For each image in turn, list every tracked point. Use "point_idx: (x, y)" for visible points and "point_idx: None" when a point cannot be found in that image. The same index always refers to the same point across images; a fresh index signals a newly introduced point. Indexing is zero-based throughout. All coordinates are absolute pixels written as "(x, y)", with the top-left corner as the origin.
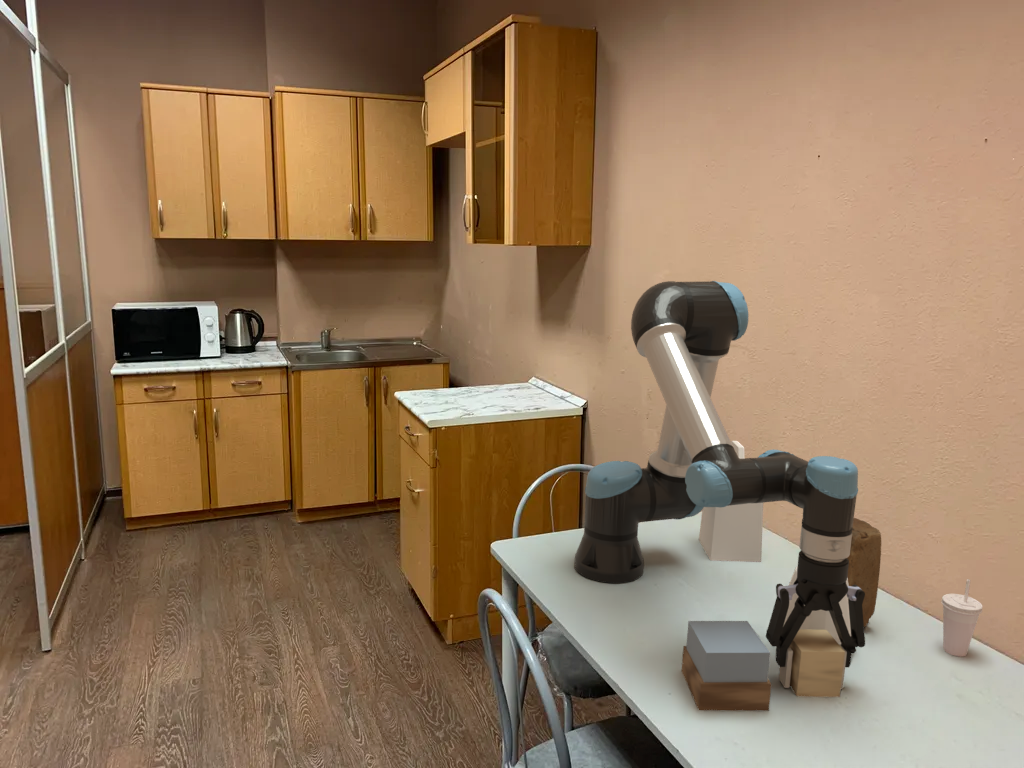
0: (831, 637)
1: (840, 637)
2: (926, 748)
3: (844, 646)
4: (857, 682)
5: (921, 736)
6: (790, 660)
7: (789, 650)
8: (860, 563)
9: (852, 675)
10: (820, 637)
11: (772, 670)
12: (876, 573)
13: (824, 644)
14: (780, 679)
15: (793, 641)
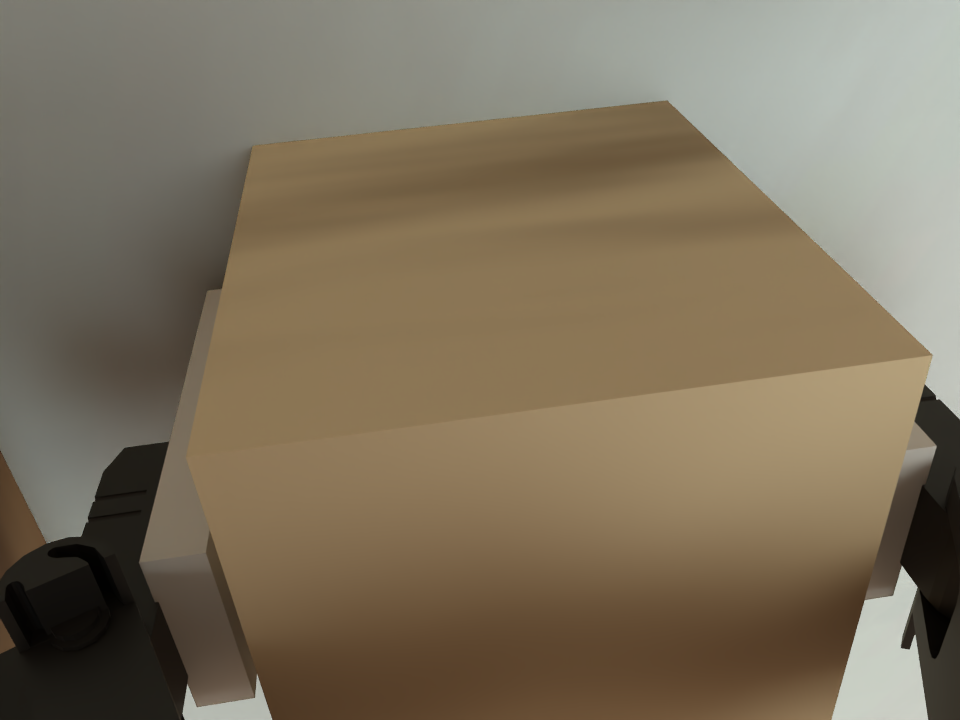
0: (858, 546)
1: (950, 635)
2: (859, 717)
3: (922, 577)
4: (902, 219)
5: (902, 655)
6: None
7: (213, 694)
8: None
9: (932, 113)
10: (697, 575)
11: (165, 124)
12: None
13: (661, 702)
14: None
15: (268, 697)
